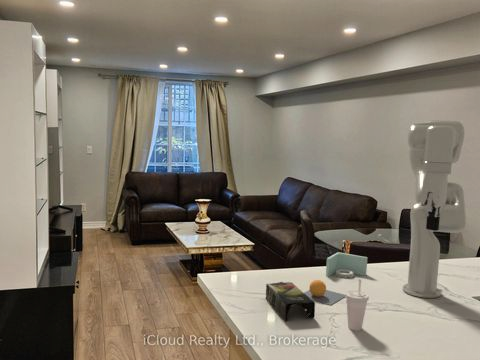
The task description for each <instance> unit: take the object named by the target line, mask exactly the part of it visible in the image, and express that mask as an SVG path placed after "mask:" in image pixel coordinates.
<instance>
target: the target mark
mask: <svg viewBox="0 0 480 360" xmlns="http://www.w3.org/2000/svg"><path fill="white" fill-rule="evenodd" d="M303 293H305V294H306V295H307V296H308V297H309V298H310V299H311V300H313V301H314V302H315V303H316V302H317V303H321V304H324V305H327V306H332V305H334V304H336V303H337V302H339V301H341V300H343V299H344V298H346V297H345V295H346V294H344V293H340V292H336V291H332V290H329V289H328V290H327V289H326V292H325V294H324V295H323V296H321V297H316V296H313V295H312V294H311V292H310V289H308V290H306V291H303Z"/></svg>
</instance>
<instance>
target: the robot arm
mask: <svg viewBox="0 0 480 360" xmlns="http://www.w3.org/2000/svg"><path fill="white" fill-rule="evenodd" d="M464 139H465V128H464V125H463V123H462V122H460V121H459V120H458V121H457V120H428V121H426V122H422V123H413V124H411V125H410V127H409V129H408V132H407V145H408V146H409V153H408V155H409V164H410V166H411V170H412V172H413V174H414V177H415V178H414V179H415V183H414V184H415V185H414V186H415V189H414V190H415V191H414V196H415V201H416V203H415V204H414V205H412V206H411V209H410V212H409V213H410V215H409V217H410V237H411V238H410V250H409V260H408V261H409V262H408V263H409V265H408V274H407V276H408V277H407V283H406V284H405V283H404V284H403V286H402V291H403V292H404V293H405V294H407V295H408V294H409V295H411V296H412V297H413V296H414V297H418V298H424V299H425V298H426V299H435V298H439V297H441V295H442V291H441V289H439V288H438V276H439V264H440V253H441V244H440V241H439V239H438V237H436V235H435V233H434V232H436V233H437V232H439V233H451V234H457V233H461V232H463V231H464V230H465V228H466V222H467V220H466V219H467V217H466V205H465V204H466V203H465V193H464V190H463V187H462V186H461V185H460V184H459V183H456V182H448V181H449V179H448V175H451V174H452V164H456V163H457V162H458V161H459V159H460V156H461V152H462V149H463V145H464Z"/></svg>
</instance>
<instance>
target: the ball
mask: <svg viewBox="0 0 480 360" xmlns="http://www.w3.org/2000/svg"><path fill="white" fill-rule="evenodd" d="M308 290H310V292H311V294H312V295H313V296H316V297H321V296H323V295H324V294H325V292H326V290H327V287H326V283H325V282H324V281H322V280H320V279H315V280H313V281H311V282H310V284H309V289H308Z"/></svg>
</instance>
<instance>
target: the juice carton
mask: <svg viewBox="0 0 480 360" xmlns="http://www.w3.org/2000/svg"><path fill="white" fill-rule="evenodd" d="M265 299H266V301H267V303H268V304H269V305H270V306H271V307H272V308H273V309H274V311H276V313H278V315H279V316H280V317H281V318H282V319H283V321H284V322H288V320H287V318H288V316H289V311H290V309H291V308H292V306H295V305H298V306H299V307H301V308H302V309H304V311H306V313H307V318H308V319H314V318H315V312H316V311H315V310H316V301H313V300H311V299H310V298H309V297H308V296H307V295H306V294H305V293H304V291H302V290H301V289H299V287H298V286H297V285H296V284H294V283H293V282H291V281H290V282H289V281H287V282H286V281H285V282H284V281H278V282H273V283H266V284H265Z"/></svg>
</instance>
